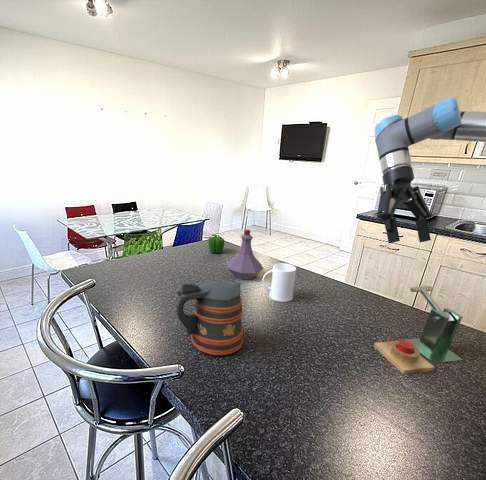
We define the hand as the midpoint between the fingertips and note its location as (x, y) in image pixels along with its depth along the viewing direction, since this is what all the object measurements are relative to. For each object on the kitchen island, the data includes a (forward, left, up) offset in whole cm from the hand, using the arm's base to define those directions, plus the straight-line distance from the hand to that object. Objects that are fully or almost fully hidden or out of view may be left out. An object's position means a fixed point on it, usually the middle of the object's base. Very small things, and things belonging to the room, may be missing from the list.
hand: (410, 241), depth 83 cm
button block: (+8, +17, -27) cm, 33 cm away
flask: (+35, -43, -28) cm, 62 cm away
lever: (-3, +10, -16) cm, 19 cm away
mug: (+28, -22, -28) cm, 45 cm away
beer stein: (+57, +3, -28) cm, 64 cm away
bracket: (-3, +15, -27) cm, 31 cm away
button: (+8, +17, -24) cm, 30 cm away
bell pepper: (+42, -74, -28) cm, 90 cm away
